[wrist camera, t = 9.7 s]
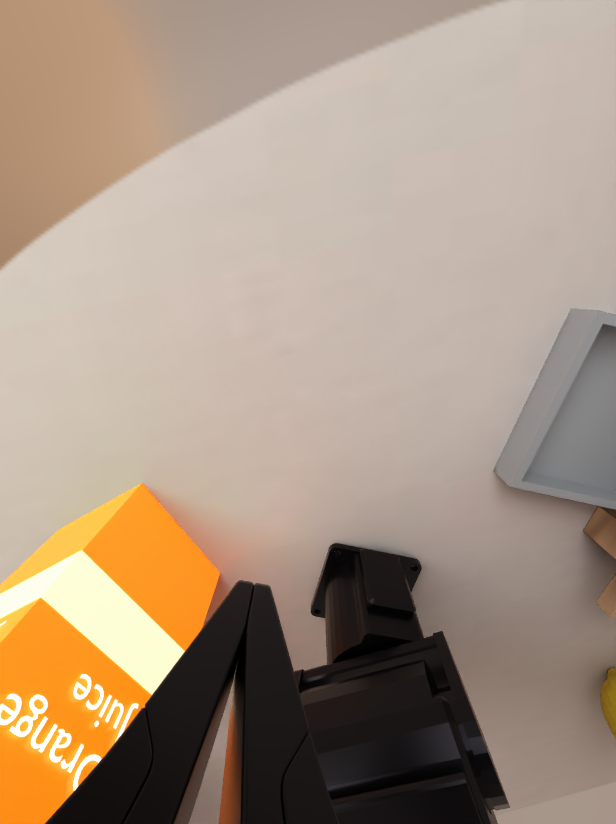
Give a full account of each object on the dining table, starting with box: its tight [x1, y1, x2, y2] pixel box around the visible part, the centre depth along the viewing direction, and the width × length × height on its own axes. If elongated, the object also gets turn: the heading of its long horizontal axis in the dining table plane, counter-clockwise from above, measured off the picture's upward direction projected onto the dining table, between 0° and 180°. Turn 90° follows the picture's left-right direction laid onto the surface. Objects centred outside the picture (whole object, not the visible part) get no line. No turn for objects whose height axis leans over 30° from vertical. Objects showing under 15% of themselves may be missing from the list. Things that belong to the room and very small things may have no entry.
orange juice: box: [0, 483, 220, 824], centre depth 14 cm, size 8×9×20 cm
